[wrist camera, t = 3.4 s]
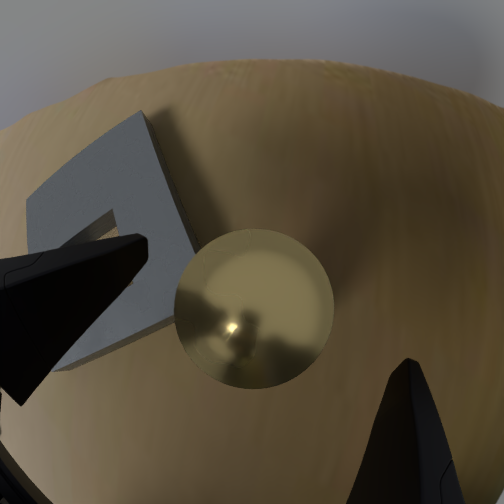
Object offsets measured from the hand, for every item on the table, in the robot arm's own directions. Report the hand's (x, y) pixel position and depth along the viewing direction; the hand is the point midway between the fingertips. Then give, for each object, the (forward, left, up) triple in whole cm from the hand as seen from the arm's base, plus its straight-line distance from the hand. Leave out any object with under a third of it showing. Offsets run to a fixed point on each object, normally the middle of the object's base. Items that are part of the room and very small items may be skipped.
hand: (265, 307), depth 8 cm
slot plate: (+10, +10, -8) cm, 16 cm away
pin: (0, 0, -8) cm, 8 cm away
